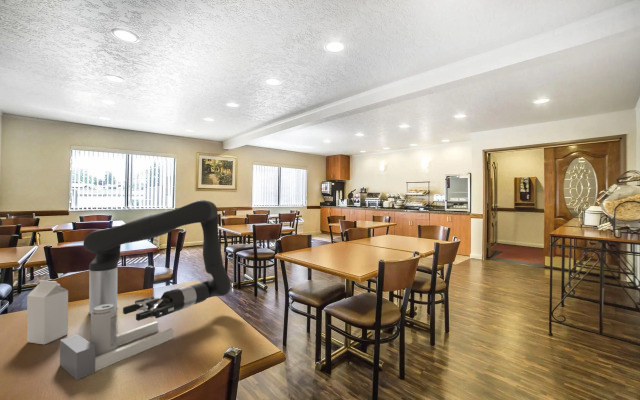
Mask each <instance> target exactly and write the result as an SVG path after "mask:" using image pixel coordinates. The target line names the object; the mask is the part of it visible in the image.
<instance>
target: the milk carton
mask: <svg viewBox="0 0 640 400" xmlns="http://www.w3.org/2000/svg"><path fill="white" fill-rule="evenodd" d="M26 297H27V298H26V301H27V304H26V307H27V308H26V309H27V310H26V311H27V313H26V318H27V319H26V320H27V321H26V323H27V324H26V327H27V328H26V329H27V331H26V332H27V334H26V335H27V336H26V338H27V339H26V341H27V342H28V343H32V344H38V345H46V344H49V343H51V342H53V341H56V340H58V339H60V338H63V337H65V336H67V335H69V289H66V288H65V287H62V286H61V284H60V283H58V281H56V280H55V281H53V280H43V279H40V280H39V283H38V284H37V286H35V287H34V288H33V289H32V290H31V291H30V292H29V293H28V295H27V296H26Z"/></svg>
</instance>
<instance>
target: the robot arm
mask: <svg viewBox="0 0 640 400" xmlns="http://www.w3.org/2000/svg"><path fill="white" fill-rule="evenodd" d="M218 214H219V213H218V207H217V205H216V204H215V203H214V202H212V201H210V200H205V199H199V200H195V201H193V202H190V203H188V204H185V205H183V206H180V207H178V208H174V209H169V210H166V211H160V212H157V213H153V214H149V215H146V216H142V217H140V218H137V219H134V220H132V221H128V222H126V223H124V224H121V225H118V226H114V227H110V228H104V229H103V228H102V229H97V230H94V231H91V232H89V233H88V234H87V235H86V237H85V238H84V240H83V243H82V244H83V247H84V249H85V250H86V251H87V252H89V253H93V254H96V255H95V257H94V259H93V260H91V262H90V263H89V266H88V268H89V269H88V270H89V273H88V274H89V276H88V279H89V280H88V281H89V283H88V284H89V285H88V287H89V288H88V290H89V293H88V299H89V300H88V313H89V314H90V315H91V314H92V312H93V310H94V307H96V306H99V305H102V304H114V307H115V308H116V310H117V309H118V265H119V264H118V263H119V261H120V258H121V246H122V245H125V244H129V243H135V242H136V243H137V242H140V241H145V240H150V239H153V238H157V237H160V236H163V235H166V234H168V233H170V232H172V231H174V230H176V229H178V228H180V227H182V226H187V225H193V224H198V223H199V224H200V225H201V226H200V227H201V229H202V232H203V233H202V234H203V237H202V238H203V240H202V241H203V242H202V256H203V257H202V258H203V263H204V269H205V272H206V273H207V274H209V275H211V277H212V278H211V279H207V280H205V281H202V282H200V283H196V284H193V285H188V286H182V287H177V288H174V289H170V290H167V291H165V292H163V294H162V295H161V297H156V298H155V296H149V297H146V298H142V299H136V300H134V303H133V304H130V305H127V306H124V307H123V308H122V313H123V314H124V315H127V314H130V313H134V312H137V311H140V312H137V313H136V314H135V320H136V321H137V322H139V321H142V320H145V319H148V318H155V319H159V318H162V317H164V316H167V315H170V314H173V313H176V312H178V311H181V310H184V309H187V308H190V307H192V306H194V305H197V304H201V303H202V302H205V301H206V300H207V299H209V298H213V297H224V296H226V295H228V294H229V293H230V290H231V288H232V287H231V286H232V285H231V279H230V277H229V275H228V272H227V270H226V268H225V266H224V259H223V257H222V256H223V255H222V251H221V246H220V238H219V236H220V235H219V222H218V220H219V217H218V216H219V215H218Z"/></svg>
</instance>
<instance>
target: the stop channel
mask: <svg viewBox="0 0 640 400" xmlns="http://www.w3.org/2000/svg"><path fill="white" fill-rule="evenodd" d="M158 331H159V322H158V321H157V320H156V321H152V322H150V323H147V324H144V325H141V326H138V327H136V328H133V329H129V330H128V331H127V330H126V331H124V332H121V333H118V334H116V350H113V351H111V352H108V353H106V354H103V355H101V356H98V357H95V346H94V345H93V344H91V341H88V340H87V339H85V338H84V337H83V336H81V335H80V334H79V333H77V334H75V335H71V336H68V337H64V338H62V339H59V365H60V366H61V367H62V368H63V369H64V370H65V372H67V373H68V374H70V375H71V377H73V378H74V379H75V380H76V381H77V380H81V379H82V378H85V377H87V376H89V375H92V374H94V373H96V372H97V371H99V370H102V369H104V368H106V367H109V366H111V365H113V364H116V363H118V362H120V361H123V360H126V359H127V358H130V357H133V356H134V355H138V354H140V353H142V352H144V351H146V350H149V349H152V348H155V347H156V346H158V345H161V344H163V343H166V342H168V341H171V340H173V339H174V333H175V331H174V328H171V327H170V328H168V329H166V330H163V331H160V332H158ZM156 332H158V333H156ZM154 333H155V334H154ZM151 334H152V335H151ZM149 335H150V336H149ZM146 336H148V337H146ZM142 337H145V338H143V339H140V338H142ZM139 339H140V340H139ZM136 340H137V341H136ZM133 341H134V342H133ZM130 342H132V343H130ZM126 343H129V344H127V345H124V344H126ZM122 345H124V346H122ZM119 346H121V347H119ZM117 347H119V348H117Z"/></svg>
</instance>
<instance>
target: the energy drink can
mask: <svg viewBox="0 0 640 400" xmlns="http://www.w3.org/2000/svg"><path fill="white" fill-rule="evenodd" d="M117 317H118V316H117V309H116V308H115V307H114V304H102V305H99V306H96V307H94V310H93V312H92V314H90V343H91V344H93V345H94V346H95V357H98V356H101V355H103V354H106V353H108V352H111V351H113V350H116V349H117V347H116V335H117V328H118V327H117V320H118V319H117Z"/></svg>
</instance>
